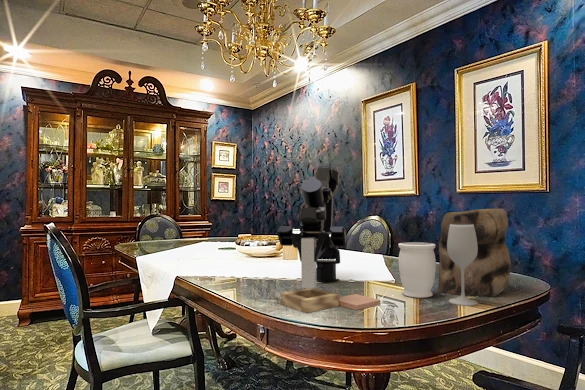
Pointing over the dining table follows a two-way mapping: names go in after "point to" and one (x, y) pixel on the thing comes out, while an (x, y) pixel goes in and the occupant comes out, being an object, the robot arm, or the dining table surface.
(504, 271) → the brown mottled lumpy block
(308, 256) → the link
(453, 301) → the wineglass
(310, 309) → the brown square tray
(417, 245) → the jar
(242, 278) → the dining table surface
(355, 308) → the coaster
